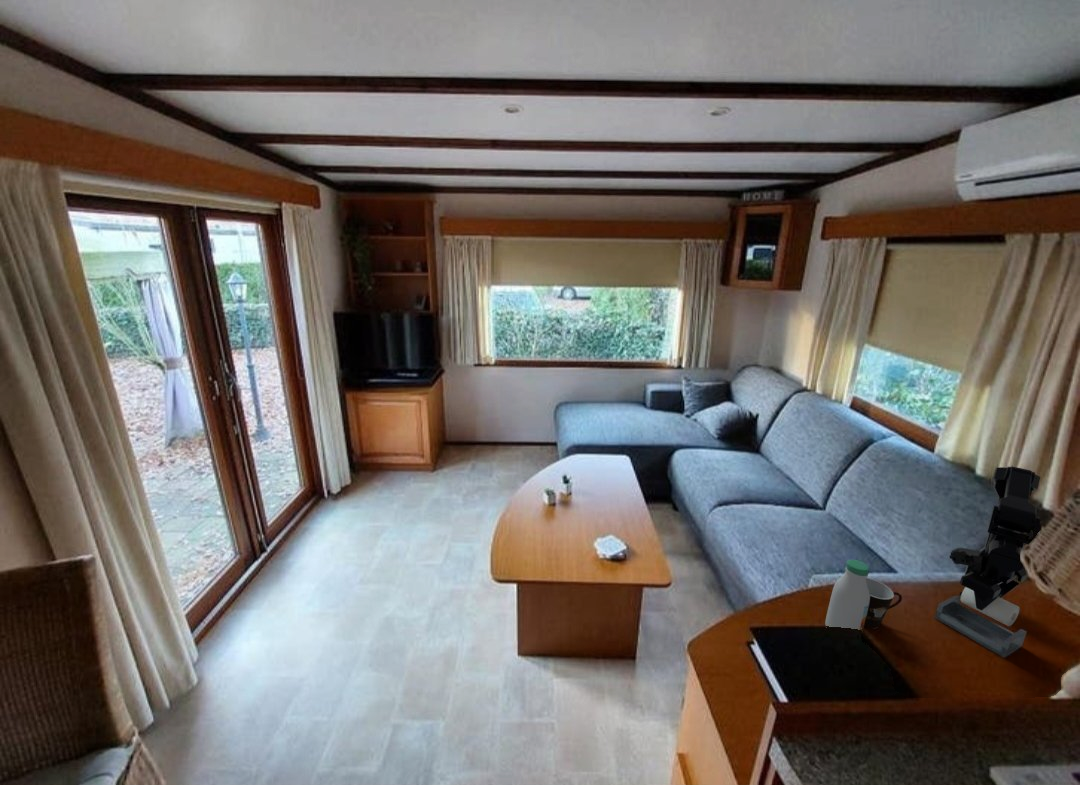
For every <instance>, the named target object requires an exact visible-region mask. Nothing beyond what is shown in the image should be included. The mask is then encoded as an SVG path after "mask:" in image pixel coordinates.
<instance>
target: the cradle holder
mask: <svg viewBox="0 0 1080 785" xmlns="http://www.w3.org/2000/svg"><path fill="white" fill-rule="evenodd" d="M960 599H961V596H959V595H956V594H955V595H954V596H951V597H949V598H948V599H946V600H944V601H942V602H940V603H938V605H937V608H936V612H935V615H934V619H936V621H939V622H940V623H942V624H943V625H946V626H947V625H948V627H949V628H951V629H952V630H955V631H956V632H958V633H960V634H961V635H963V636H965V637H966V638H968V639H970V640H972V641H973V642H975V643H977V644H979V645H980V646H982V647H984V648H986V649H987V650H990V651H991V652H993V653H995V654H996V655H998V656H1000V657H1002V658H1004V659H1005V658H1007V657H1008V656H1010V655H1012V654H1013V653H1015V652H1016V651H1018V650H1019V649H1020V648H1022V647H1023V644H1024V641H1025V639H1026V635H1027V632H1028V631H1026V630H1024V629H1022V628H1020V629H1018V631H1015V632H1013V631H1011V630H1010V629H1007V628H1006V627H1004V626H1002V625H1000V624H998V623H996V622H995V621H992V620H990V619H989V618H987V617H985V616H983V615H981V614H979V613H977V612H975V611H974V610H972V609H969V608H968V607H966V606H963V605H962V604H961V603H960V602H961V600H960Z"/></svg>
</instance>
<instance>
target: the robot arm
mask: <svg viewBox="0 0 1080 785" xmlns="http://www.w3.org/2000/svg"><path fill="white" fill-rule="evenodd" d="M1040 481H1041V476H1040V475H1037V474H1036V472H1034V471H1032V470H1030V469H1026V468H1023V467H1017V466H1007V467H1005V466H1003V467H1001V466H1000V467H996V468H995V470H994V472H993V475H992V478H991V482H994V483H993V484H994V485H993V490H994V492H995V494H996V496H997V501H996V505H993V507H992V509H991V512H990V517H989V521H988V526H987V533H988V534H987V537H986V541H985V544H984V547H982V548H981V549H979V550H978V549H977V550H976V549H972V548H964V547H957V548H955V549H953V550H951V551H950V555H949V556H948V557H949V558H950V559H951V561H952V562H953V564H955V565H963V566H966V567H965V570H964V574H963V575H962V576H960V577H961V578H960V580H959V583H960V585H961V586H963V587H964V588H965V587H967V588H969V589H971V590H973V591H974V595H975V602H976V608H977V609H979V610H983V609H984V608H986V607H987V606H988V605H990V604H991V603H992V602H993V601H995V600H996V599H997V598H998V597H1000V598H1002V599H1003V597H1004V596H1006V595H1007V594H1009V593H1010V592H1011V591H1013V590H1014V589H1016V588H1017V587H1019V586H1020V583H1023V582H1025V581H1026V580H1027V578H1028V575H1027V574H1026V572H1027V571H1026V572H1025V570H1026V569H1025V568H1024V567H1023V565H1022V563H1021V562H1020V551H1021V549H1022V548H1023V549H1024V547H1025V544H1026V545H1029V543H1030V542H1031V541H1032V540H1033V539H1034V538H1035V536H1036V535H1037V533H1038V532H1039V531H1040V530H1041V531H1042V527H1043V523H1042V520H1041V517H1039V516H1037V513H1038V512H1037V507H1036V506H1034V505H1033V504H1032V503H1031V502H1030V498H1031V495H1032V493H1033V492H1036V491H1037V490H1039V485H1040ZM1029 535H1030V536H1029ZM1016 579H1017V581H1018V582H1017V581H1016ZM962 592H963V590H962V591H960V592H959V595H960V596H961V595H962Z"/></svg>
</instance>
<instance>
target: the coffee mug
mask: <svg viewBox="0 0 1080 785" xmlns="http://www.w3.org/2000/svg"><path fill="white" fill-rule="evenodd" d="M866 583H867V587H868V590H869V594H870V602H869V607H868V611H867V615H866V619H865V623H864V627H865V628H868V627H869V628H868V629H873V628H876V627H879V626H881V624H882V622H883V620H884V618H885V616H886V614H887V612H888V610H890V609H892V608H895V607H896V606H898V605H899V604H900V603H901V602H902V599H903V596H902V595H901V594H900V593H899V592H897V591H893V590H892V589H891V588H890V587H889V586H887V585H886V584H885V583H883V582H882V581H881V582H880V581H878V580H876V579H874V578H870V577H866ZM895 596H898V599H897V600H896V601H895V602H894V603H893V604H891V603H892V601H893V599H894V597H895ZM879 628H880V627H879ZM876 629H877V628H876Z"/></svg>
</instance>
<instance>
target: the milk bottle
mask: <svg viewBox="0 0 1080 785" xmlns="http://www.w3.org/2000/svg"><path fill="white" fill-rule="evenodd" d="M869 573H870V567H869V566H868V565H867V564H866V563H865V562H862V561H860V560H858V559H848V560H847V561H846V564H845V572H844V573H843V575H842V576H841V577H839V578H838V579H837V581H836V582H835V584H834V585H833V588H832V592H831V596H830V599H829V600H830V601H829V604H828V608H827V613H826V618H825V622H824V623H825V627H826V626H829V627H841V628H851V629H858V630H861V631H862V632H863V631H864V627H865V626H864V623H865V619H866V615H867V611H868V607H869V602H870V594H869V590H868V587H867V583H866V577H867V578H869Z"/></svg>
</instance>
